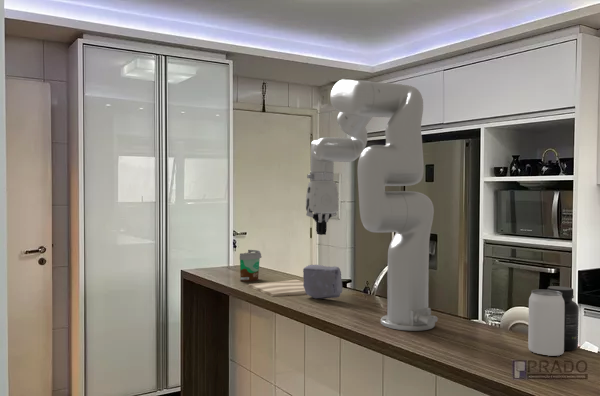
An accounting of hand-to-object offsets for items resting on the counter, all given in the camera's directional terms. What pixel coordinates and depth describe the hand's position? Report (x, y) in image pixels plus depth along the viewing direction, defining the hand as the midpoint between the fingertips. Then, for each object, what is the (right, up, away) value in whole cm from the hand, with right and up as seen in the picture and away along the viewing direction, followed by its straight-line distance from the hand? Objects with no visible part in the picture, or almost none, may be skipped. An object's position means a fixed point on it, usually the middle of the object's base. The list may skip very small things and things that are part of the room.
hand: (321, 234), depth 173 cm
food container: (-24, -17, +14) cm, 33 cm away
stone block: (0, -18, -19) cm, 26 cm away
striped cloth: (-11, -18, -4) cm, 21 cm away
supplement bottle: (+47, -19, -62) cm, 81 cm away
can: (+42, -19, -67) cm, 81 cm away
